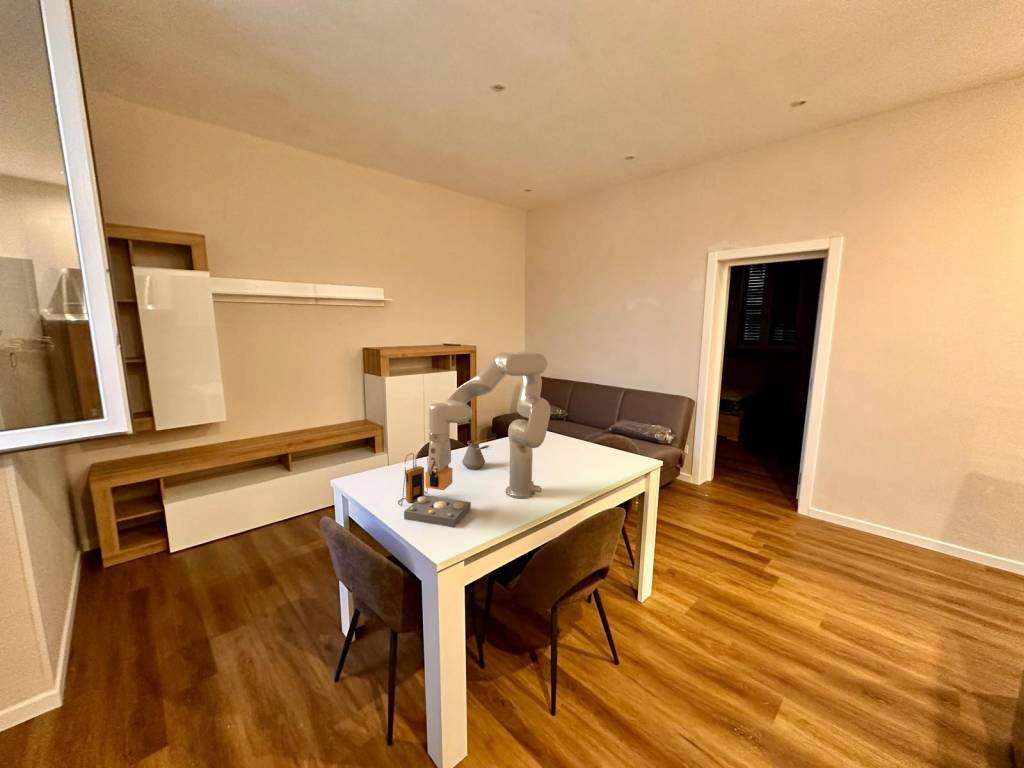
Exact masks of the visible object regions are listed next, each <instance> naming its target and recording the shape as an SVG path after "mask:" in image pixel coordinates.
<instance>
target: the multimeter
mask: <svg viewBox="0 0 1024 768" xmlns="http://www.w3.org/2000/svg"><path fill="white" fill-rule="evenodd" d="M421 452H422V450H420V451H418V452H417V453H416V455H415V454H414V453H413V452H412V453H408V454H407V455H406V456H405V460H404V463H406V461H407V458H408V457H409V456H410V455H413V457H412V458H413V460H412V468H407V469H406V468H404V475H405V477H404V479H403V484H405V486H403V490H402V495H404V494H405V498H404V497H402V498H401V499H399V500H398V502H397V503H398V505H399V506H402V505H403V502H404V501H403V500H406V502H408V503H413V502H416V501H417V500H418V497H422V496H424V495H425V493H426V494H428V490H429V488H426V491H425V467H423V466H421V465H418V466H417V455H418V454H419V453H421ZM423 452H424V453H425V457H426V460H427V463H428V458H429V457H428V454H427V452H426V451H425V450H423ZM404 492H405V493H404ZM400 501H401V503H400Z"/></svg>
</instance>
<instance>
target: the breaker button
mask: <svg viewBox="0 0 1024 768" xmlns="http://www.w3.org/2000/svg"><path fill="white" fill-rule="evenodd" d="M446 507H447V503H446V502H444V501H438V502H435V503H434V508H439V509H445V508H446Z"/></svg>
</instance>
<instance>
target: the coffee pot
mask: <svg viewBox="0 0 1024 768" xmlns="http://www.w3.org/2000/svg"><path fill="white" fill-rule="evenodd" d="M480 443H481V441H480V440H472V439H471V440H468V441H467V443H466V444H467V449H466V452H465V454H464V456H463V458H462V460H461V462H462V464H463V466H464V467H465V468H466V469H468V470H478V469H479V470H480V469H481V468H482V467H483V466H484V465H485V464H486V459H485V458H484V455H483V453H482V451H481V450H484V449H486V450H491V448H492V447H490V445H483V446H481V447H480ZM488 448H489V449H488Z"/></svg>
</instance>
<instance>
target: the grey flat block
mask: <svg viewBox="0 0 1024 768" xmlns="http://www.w3.org/2000/svg"><path fill="white" fill-rule="evenodd" d="M438 501H444V502H446V503H447V507H446V508H445V509H439V508H434V503H435V502H438ZM471 504H472V502H471V501H466V500H460V499H459V500H458V499H453V498H445V497H439V496H432V495H425V494H424V496H422V497H418V500H416V501H414V503H412V504H411V505H410V506H409V507H407V508H406V509H405V510H404V511H403V519H404V520H407V521H408V520H409V521H414V522H420V523H426V524H432V525H438V526H443V527H451V528H455V527H456V526H457V525H458V524H459V523H460V522H461V521H462V520H463V519H464V517H465V516H466V515H467V514H468V513H469V512H470V511H471V510H472V505H471Z"/></svg>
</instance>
